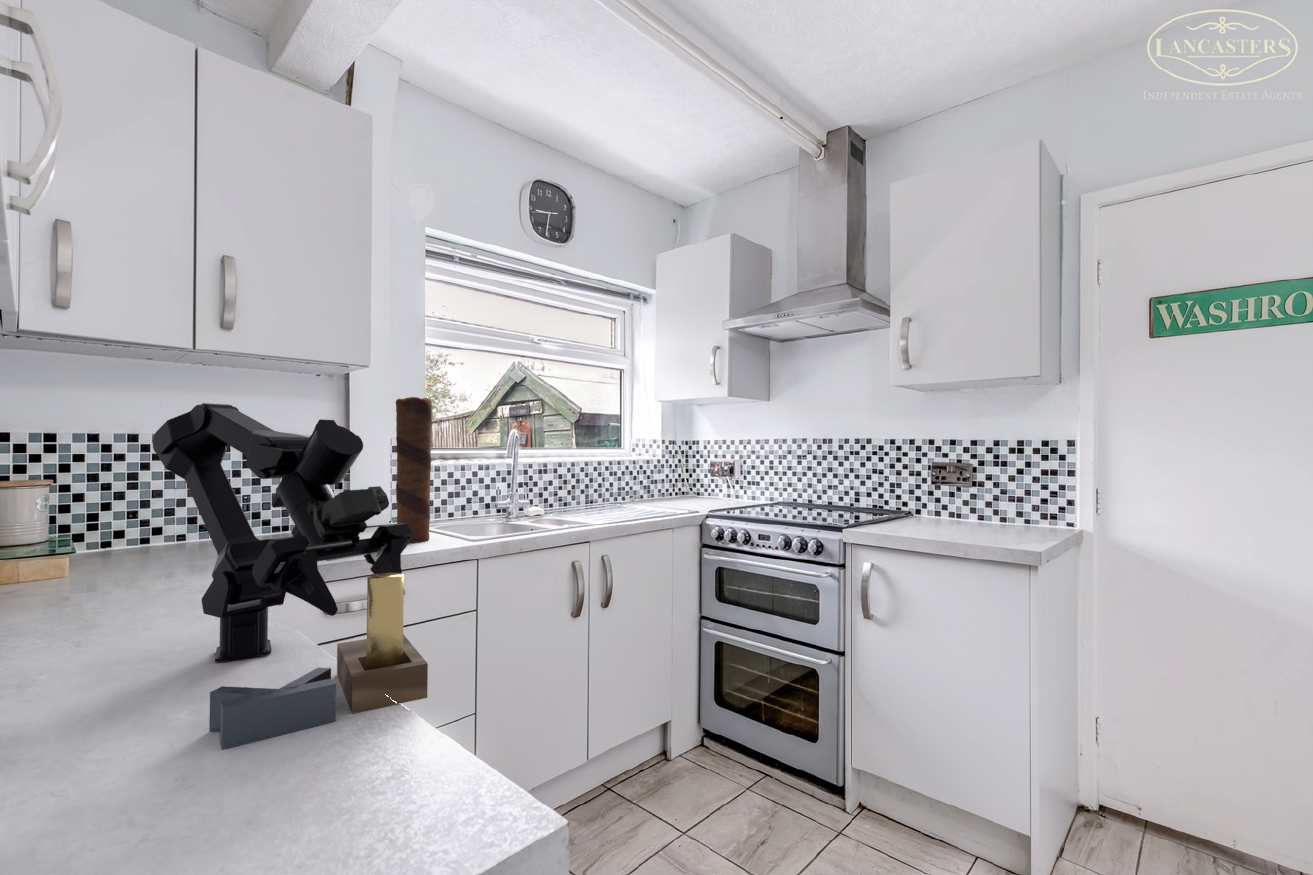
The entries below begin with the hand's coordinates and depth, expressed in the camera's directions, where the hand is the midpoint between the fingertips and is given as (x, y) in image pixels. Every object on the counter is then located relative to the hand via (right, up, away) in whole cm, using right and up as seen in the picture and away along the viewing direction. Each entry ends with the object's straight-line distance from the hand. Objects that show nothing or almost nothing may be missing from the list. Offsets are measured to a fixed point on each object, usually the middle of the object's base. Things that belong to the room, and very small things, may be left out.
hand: (370, 604), depth 76 cm
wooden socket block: (+1, -10, +1) cm, 10 cm away
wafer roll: (-42, -12, +120) cm, 127 cm away
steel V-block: (-6, -10, -10) cm, 15 cm away
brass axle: (+2, -10, -1) cm, 11 cm away
